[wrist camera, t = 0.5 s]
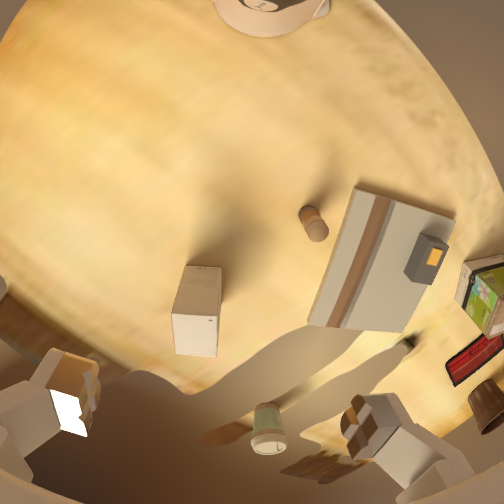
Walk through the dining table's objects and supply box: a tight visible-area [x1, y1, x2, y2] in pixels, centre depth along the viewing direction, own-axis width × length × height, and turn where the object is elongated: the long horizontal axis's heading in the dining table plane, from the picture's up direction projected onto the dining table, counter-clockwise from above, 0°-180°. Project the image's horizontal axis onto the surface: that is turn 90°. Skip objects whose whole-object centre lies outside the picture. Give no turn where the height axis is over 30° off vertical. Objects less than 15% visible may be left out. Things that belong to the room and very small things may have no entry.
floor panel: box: [307, 188, 456, 333], centre depth 52 cm, size 26×22×2 cm
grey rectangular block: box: [403, 233, 449, 285], centre depth 48 cm, size 8×5×4 cm, turn 168°
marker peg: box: [298, 205, 329, 242], centre depth 44 cm, size 3×3×7 cm
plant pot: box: [468, 379, 504, 436], centre depth 72 cm, size 16×16×16 cm
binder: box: [445, 333, 504, 387], centre depth 67 cm, size 16×2×21 cm
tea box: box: [455, 254, 504, 339], centre depth 48 cm, size 15×10×15 cm
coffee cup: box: [251, 402, 288, 455], centre depth 64 cm, size 8×8×12 cm
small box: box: [171, 265, 222, 357], centre depth 47 cm, size 8×6×13 cm
